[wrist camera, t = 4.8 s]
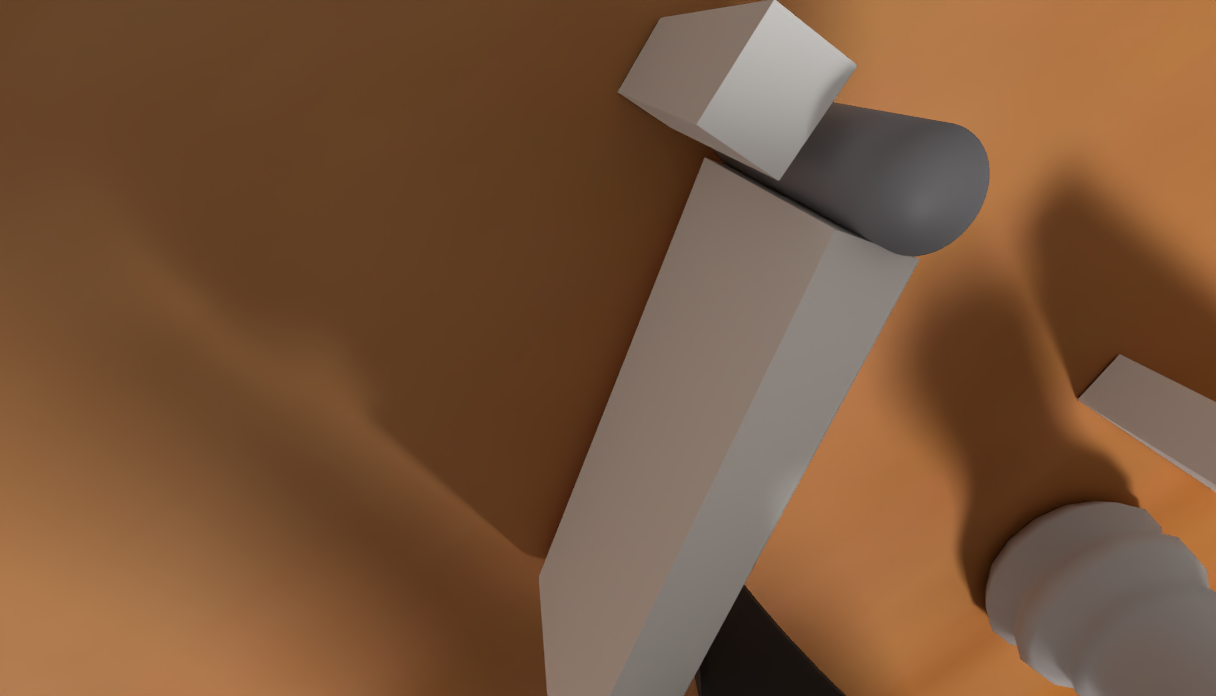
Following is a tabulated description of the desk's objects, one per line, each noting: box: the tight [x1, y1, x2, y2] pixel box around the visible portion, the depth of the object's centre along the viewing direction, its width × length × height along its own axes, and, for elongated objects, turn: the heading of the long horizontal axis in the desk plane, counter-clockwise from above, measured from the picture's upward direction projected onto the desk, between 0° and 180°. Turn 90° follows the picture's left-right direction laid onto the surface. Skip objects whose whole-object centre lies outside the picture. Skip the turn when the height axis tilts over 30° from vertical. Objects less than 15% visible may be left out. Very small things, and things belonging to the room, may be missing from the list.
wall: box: [618, 0, 1216, 492], centre depth 11 cm, size 1×17×4 cm, turn 58°
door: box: [539, 102, 989, 696], centre depth 10 cm, size 1×10×5 cm, turn 160°
